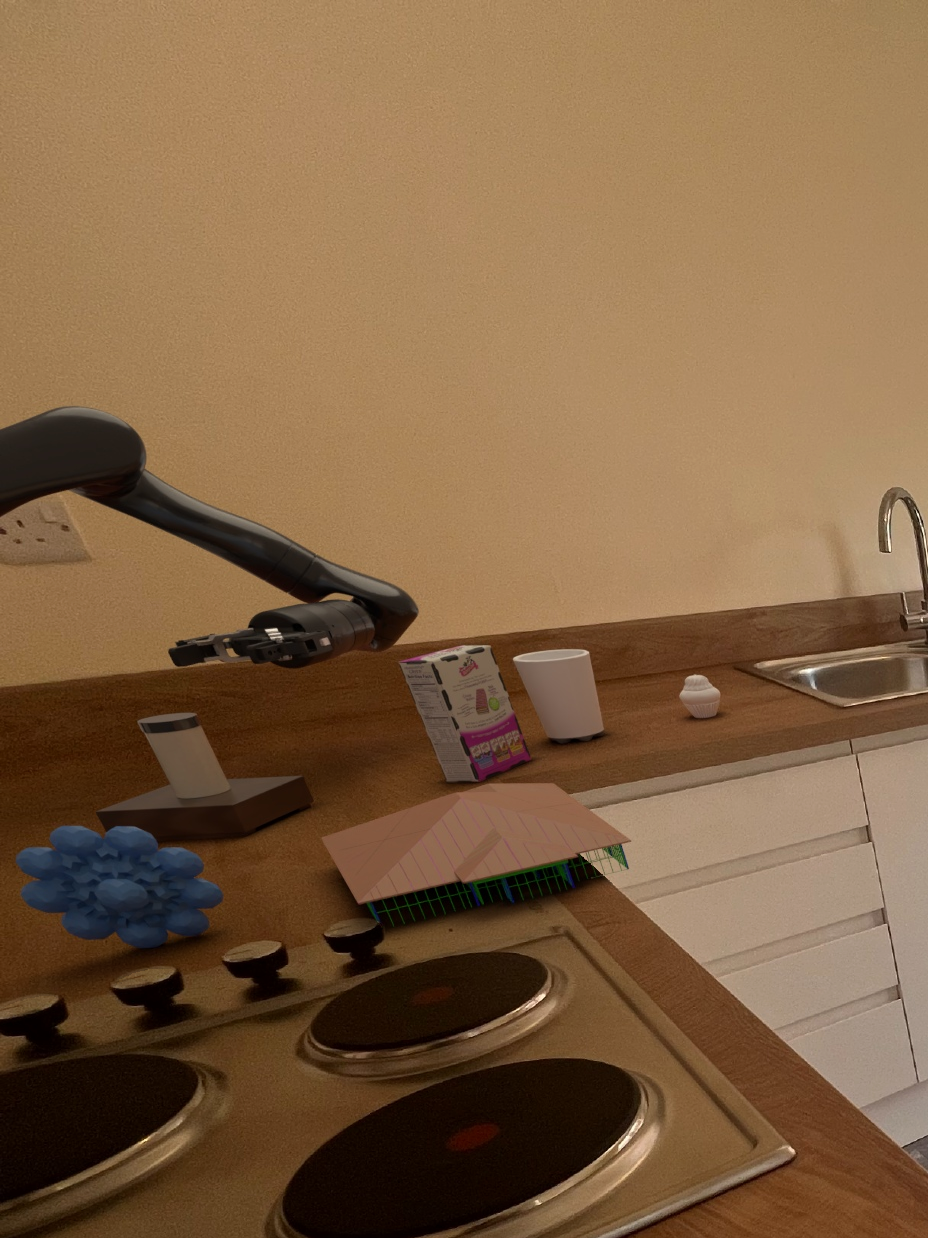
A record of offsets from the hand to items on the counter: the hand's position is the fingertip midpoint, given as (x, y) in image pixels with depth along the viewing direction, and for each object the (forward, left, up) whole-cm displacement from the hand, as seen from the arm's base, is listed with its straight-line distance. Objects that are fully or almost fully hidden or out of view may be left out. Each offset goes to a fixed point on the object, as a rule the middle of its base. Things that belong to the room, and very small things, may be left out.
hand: (213, 656), depth 127 cm
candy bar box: (+21, +9, -18) cm, 29 cm away
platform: (0, -10, -18) cm, 21 cm away
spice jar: (0, -10, -14) cm, 17 cm away
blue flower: (+21, -49, -18) cm, 57 cm away
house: (+40, -31, -18) cm, 54 cm away
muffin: (+40, +39, -18) cm, 59 cm away
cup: (+25, +27, -18) cm, 41 cm away
